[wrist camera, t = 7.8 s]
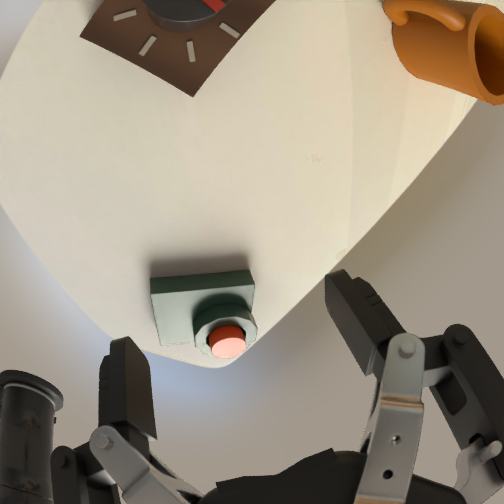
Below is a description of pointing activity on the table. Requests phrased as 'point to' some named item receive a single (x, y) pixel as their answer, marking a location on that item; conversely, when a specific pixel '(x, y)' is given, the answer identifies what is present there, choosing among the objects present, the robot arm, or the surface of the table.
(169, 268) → the table surface
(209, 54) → the dial panel
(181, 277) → the button block
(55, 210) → the table surface
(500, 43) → the mug
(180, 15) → the dial knob
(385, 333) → the robot arm
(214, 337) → the button
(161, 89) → the table surface
